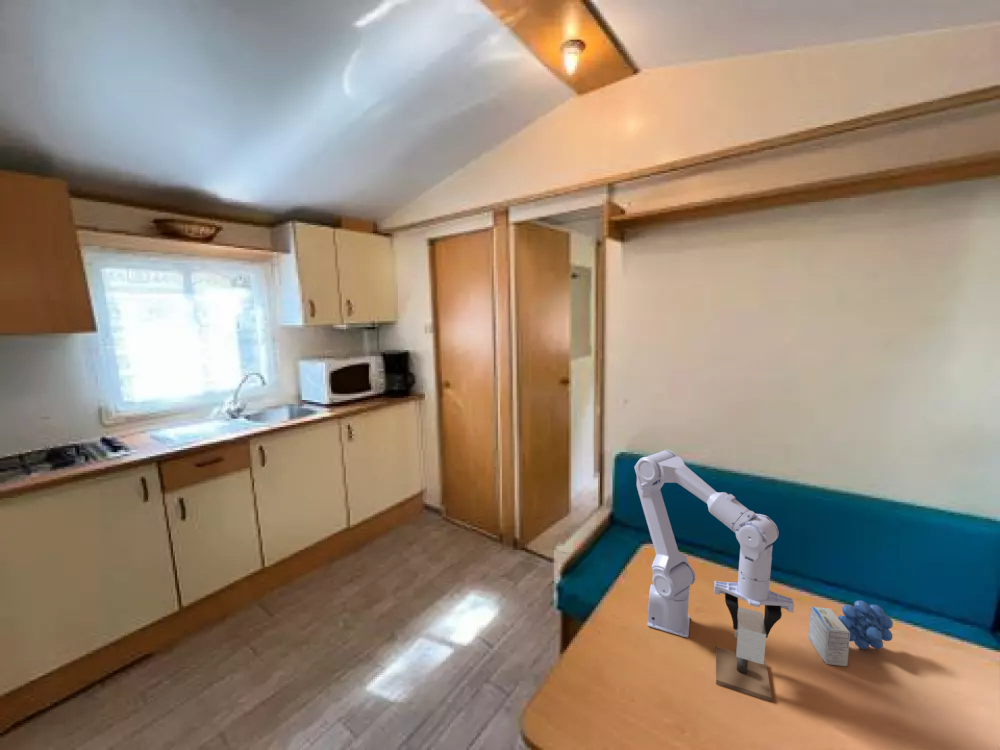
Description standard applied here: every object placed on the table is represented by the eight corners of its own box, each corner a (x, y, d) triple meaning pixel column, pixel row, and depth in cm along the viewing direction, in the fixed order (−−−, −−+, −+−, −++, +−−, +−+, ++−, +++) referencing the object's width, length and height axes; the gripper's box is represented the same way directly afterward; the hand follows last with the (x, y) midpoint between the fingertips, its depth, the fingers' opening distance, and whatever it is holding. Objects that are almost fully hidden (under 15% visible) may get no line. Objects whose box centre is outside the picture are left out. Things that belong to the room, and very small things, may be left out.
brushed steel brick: (736, 656, 91) (738, 627, 90) (734, 633, 97) (736, 606, 96) (763, 664, 88) (766, 634, 87) (760, 640, 95) (762, 612, 94)
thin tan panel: (716, 683, 91) (717, 667, 90) (715, 650, 100) (716, 634, 99) (771, 701, 87) (772, 684, 86) (765, 664, 95) (767, 649, 95)
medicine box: (847, 667, 94) (851, 632, 93) (824, 664, 95) (828, 630, 94) (828, 640, 102) (831, 608, 101) (807, 638, 103) (810, 605, 101)
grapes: (847, 661, 96) (853, 613, 94) (828, 638, 103) (833, 593, 101) (904, 665, 94) (911, 616, 93) (881, 641, 101) (887, 596, 99)
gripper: (716, 575, 89) (712, 632, 92) (799, 593, 83) (793, 655, 85) (715, 557, 96) (712, 611, 98) (792, 573, 89) (787, 631, 92)
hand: (749, 630), depth 92 cm, fingers closed on brushed steel brick, 5 cm apart
